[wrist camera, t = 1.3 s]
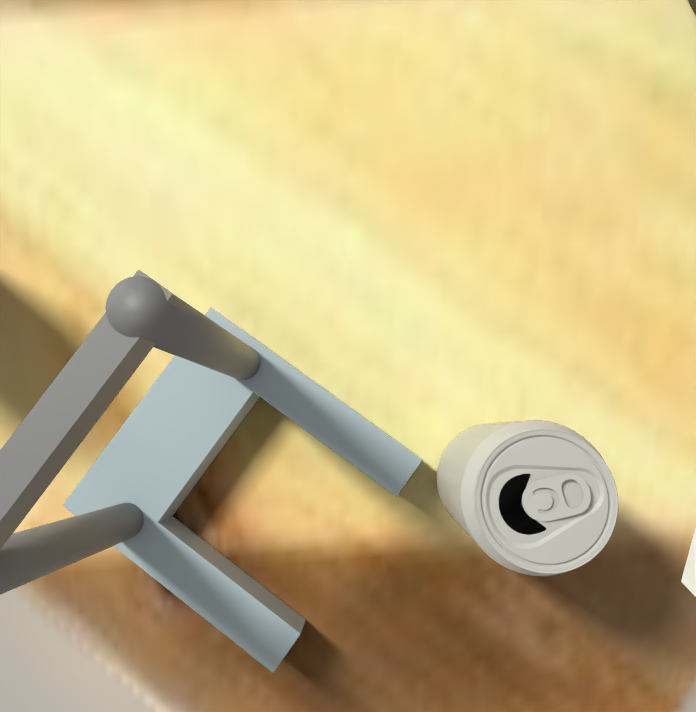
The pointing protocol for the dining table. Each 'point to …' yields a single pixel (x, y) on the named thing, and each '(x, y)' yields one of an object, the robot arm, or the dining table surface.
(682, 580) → the robot arm
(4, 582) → the grey arch frame
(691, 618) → the dining table surface
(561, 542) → the beverage can
